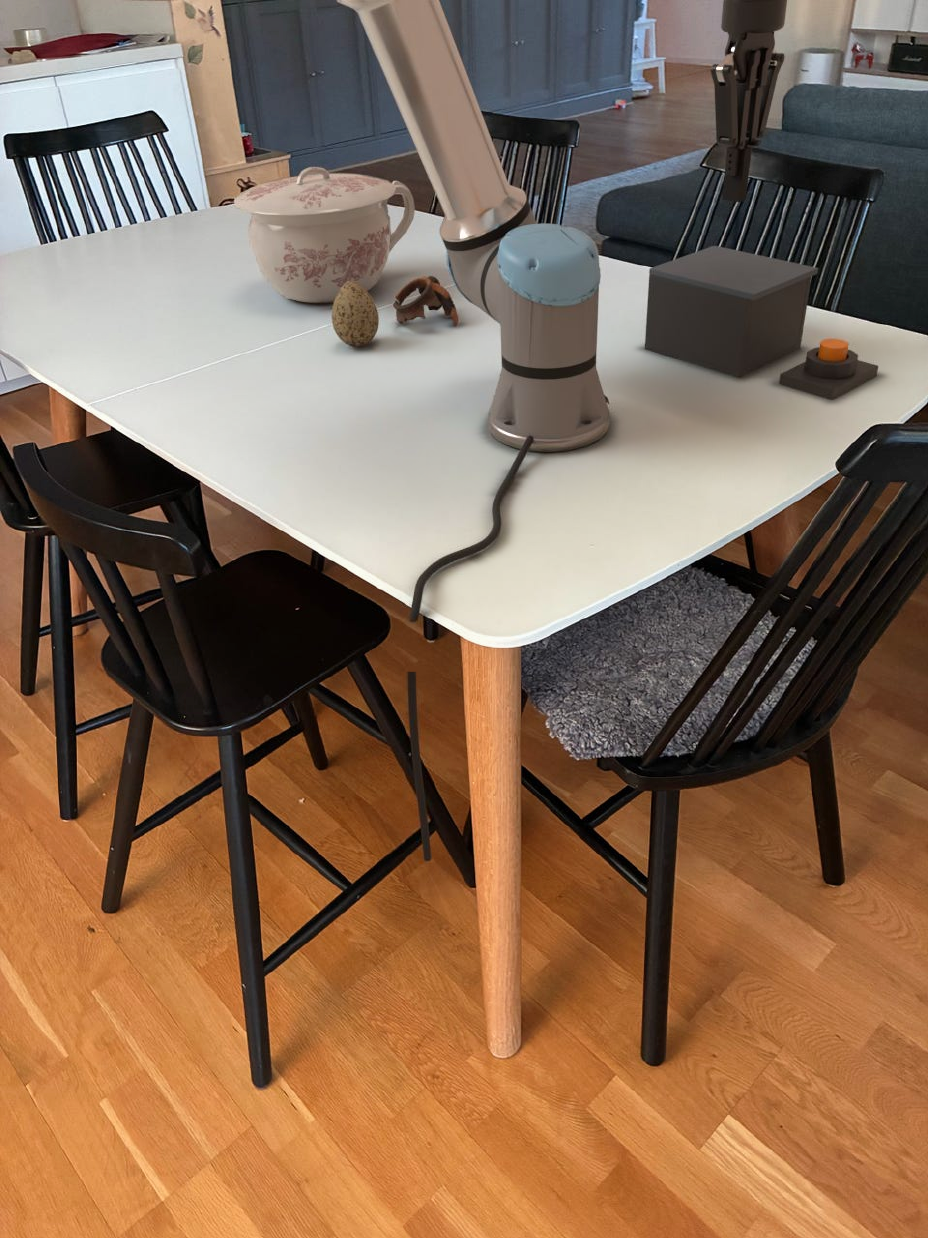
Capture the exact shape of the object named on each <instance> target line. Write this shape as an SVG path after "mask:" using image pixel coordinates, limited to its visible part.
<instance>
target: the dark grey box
mask: <svg viewBox="0 0 928 1238" xmlns="http://www.w3.org/2000/svg"><path fill="white" fill-rule="evenodd" d="M812 277H813V276H811V277H808V278H806V279H803V280H801V281H799V282H796V283H794V284H791V285H789V286H787V287H784V288H782V289H779V290H777V291H775V292H772V293H770V294H767V295H765V296H763V297H760V298H758V299H755V300H750V299H746V298H742V297H739V296H735V295H731V294H727V293H723V292H719V291H715V290H711V289H707V288H703V287H699V286H695V285H691V284H687V283H683V282H679V281H675V280H671V279H667V278H663V277H659V276H655V275H651V274H648V287H647V288H648V289H647V303H646V304H647V306H646V320H645V323H646V324H645V337H644V350H647V351H650V352H653V353H657V354H659V355H663V356H665V357H669V358H672V359H676V360H679V361H683V362H686V363H688V364H693V365H696V366H699V367H702V368H705V369H708V370H712V371H715V372H718V373H721V374H724V375H728V376H730V377H733V378H737V379H740V378H742V377H744V376H747V375H748V374H750V373H753V372H754V371H757V370H759V369H761V368H763V367H765V366H766V365H769V364H772V363H773V362H776V361H778V360H780V359H781V358H783V357H786V356H789V355H790V354H792V353H794V352H796V351H798V350H800V349H801V345H802V340H803V333H804V327H805V321H806V315H807V308H808V302H809V295H810V289H811V283H812Z"/></svg>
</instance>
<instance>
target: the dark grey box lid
mask: <svg viewBox="0 0 928 1238" xmlns="http://www.w3.org/2000/svg"><path fill="white" fill-rule="evenodd" d="M648 270H649V271H648V275H650V274H651V275H655V276H659V277H663V278H667V279H671V280H675V281H679V282H683V283H687V284H691V285H695V286H699V287H703V288H707V289H711V290H715V291H719V292H723V293H727V294H731V295H735V296H739V297H742V298H746V299H750V300H755V299H758V298H760V297H763V296H765V295H767V294H770V293H772V292H775V291H777V290H779V289H782V288H784V287H787V286H789V285H791V284H794V283H796V282H799V281H801V280H803V279H806V278H808V277H811V276H812V277H813V276H815V275H818V273H819V267H815V266H811V265H807V264H801V263H797V262H792V261H786V260H783V259H778V258H775V257H768V256H764V255H760V254H756V253H750V252H746V251H741V250H737V249H732V248H727V247H722V246H719V245H711V246H709V247H706V248H704V249H701V250H698V251H695V252H692V253H689V254H687V255H684V256H681V257H678V258H675V259H673V260H669V261H667V262H664V263H661V264H659V265H656V266H653V267H650V268H649V269H648Z"/></svg>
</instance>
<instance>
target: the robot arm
mask: <svg viewBox="0 0 928 1238" xmlns="http://www.w3.org/2000/svg"><path fill="white" fill-rule="evenodd" d="M336 2H337V3H339V4H341V5H343V6H346V7H348V8H350V9H353V10H354V12H356V13H357V16H358V18H359V20H360V23H361V24H362V26H363V29H364V31H365V34H366V36H367V38H368V40H369V43H370V45H371V48H372V50H373V52H374V55H375V57H376V59H377V61H378V63H379V66H380V68H381V70H382V73H383V75H384V77H385V80H386V82H387V84H388V87H389V89H390V92H391V93H392V96H393V98H394V101H395V103H396V106H397V108H398V110H399V113H400V114H401V117H402V120H403V121H404V123H405V126H406V128H407V131H408V133H409V135H410V137H411V140H412V142H413V145H414V147H415V149H416V151H417V154H418V156H419V158H420V160H421V163H422V165H423V167H424V170H425V171H426V174H427V177H428V179H429V182H430V184H431V186H432V189H433V191H434V194H435V196H436V198H437V200H438V202H439V205H440V207H441V209H442V211H443V215H444V216H443V220H442V221H441V224H440V227H439V231H438V232H439V236H440V238H441V240H442V243H443V244H444V248H445V249H446V255H445V256H446V266H447V271H448V273H449V277H450V278H451V280H452V283H453V284H454V286H455V288H456V289H457V290H458V292H459V293H460V294H461V296H462V297H463V298H464V299H466V300H467V301H468V302H469V303H470V304H472V305H473V306H476V308H478V309H480V310H481V311H482V312H484V313H485V314H486V315H488V316H489V317H490V318H491V319H493V320H494V321H495V322H497V323H498V324H499V328H500V346H501V347H500V353H501V370H500V373H499V376H498V381H497V384H496V387H495V390H494V394H493V397H492V401H491V404H490V407H489V411H488V430H489V432H490V434H491V435H492V437H493V438H495V439H496V440H497V441H499V442H500V443H502V444H505V445H506V446H509V447H512V448H514V449H518V450H519V452H518V454H517V455H516V458H515V459H514V462H513V463H512V465H511V467H510V469H509V471H508V473H507V474H506V476H505V478H504V479H503V481H502V483H501V484H500V486H499V488H498V490H497V492H496V494H495V496H494V499H493V502H492V507H491V508H492V509H491V512H492V513H491V514H492V521H493V526H492V529H491V531H490V532H489V534H488V535H487V536H486V537H485V538H484V539H482V540H481V541H479V542H477V543H474V544H472V545H470V546H467V547H465V548H462V549H459V550H457V551H454V552H450V553H448V554H447V555H444V556H442V557H440V558H438V559H437V560H436V561H434V562H432V564H430V565H429V566H428V567H427V568H426V569H425V570H424V571H423V572H421V574H420V575H419V577H418V578H417V580H416V583H415V587H414V590H413V596H412V602H411V607H410V612H409V618H408V620H409V622H411V623H416V622H417V621H419V615H420V610H421V606H422V600H423V594H424V589H425V587H426V584H427V582H428V581H429V579H431V577H433V575H434V574H435V573H437V571H438V570H440V569H442V568H443V567H445V566H447V565H450V564H451V563H454V562H456V561H459V560H461V559H464V558H466V557H470V556H472V555H475V554H477V553H479V552H481V551H483V550H485V549H486V548H488V547H489V546H490V545H492V544H493V543H494V542H495V541H496V539H497V538H498V537H499V536H500V533H501V530H502V517H501V505H502V502H503V500H504V497H505V495H506V493H507V491H508V489H509V487H510V486H511V484H512V483H513V481H514V479H515V477H516V475H517V473H518V472H519V469H520V468H521V466H522V464H523V461H524V459H525V458H526V455H527V454H528V452H529V451H531V452H547V453H549V452H563V451H569V450H574V449H575V450H576V449H580V448H582V447H586V446H589V445H590V444H593V443H595V442H598V440H600V439H601V438H603V437H604V436H605V435H606V433H607V432H608V430H609V426H610V425H609V424H610V409H609V406H610V405H611V404H610V400H609V397H608V396H607V395H606V394H605V393H604V389H603V386H602V383H601V379H600V375H599V373H598V369H597V351H598V346H597V345H598V327H599V326H598V325H599V324H598V323H599V298H600V297H599V295H600V283H601V278H602V277H601V276H602V275H601V267H600V254H599V248H598V246H597V244H596V242H595V240H594V239H593V238H592V237H591V236H590V235H589V234H587V233H585V232H584V231H582V230H580V229H577V228H576V227H575V228H574V227H572V226H562V225H561V224H559V223H558V224H557V223H537V221H536V218H535V215H534V213H533V210H532V208H531V205H530V202H529V199H528V197H527V194H526V193H525V190H524V189H522V188H519V187H517V186H514V185H511V184H510V183H509V181H508V179H507V177H506V174H505V171H504V169H503V166H502V163H501V160H500V158H499V156H498V153H497V150H496V147H495V144H494V142H493V139H492V137H491V134H490V132H489V131H490V130H489V128H488V126H487V123H486V121H485V118H484V116H483V113H482V110H481V107H480V105H479V102H478V100H477V97H476V94H475V92H474V88H473V87H472V84H471V81H470V79H469V76H468V74H467V71H466V68H465V66H464V63H463V59H462V58H461V55H460V52H459V49H458V46H457V44H456V41H455V39H454V36H453V34H452V31H451V28H450V26H449V23H448V20H447V18H446V15H445V12H444V10H443V7H442V5H441V2H440V0H336ZM787 6H788V0H723V2H722V11H721V12H722V13H721V24H720V25H721V26H720V27H721V30H722V32H724V33H727V35H728V38H727V42H726V45H725V47H724V48H725V49H724V58H723V59H722V61H721V62H720V63H713V64H712V66H711V68H710V74H711V78H712V82H713V84H714V86H713V87H714V109H715V110H714V111H715V140H716V145H719V147H720V148H725V149H726V154H725V164H724V166H725V167H724V180H723V191H722V200H723V201H729V202H735V203H741V202H744V201H747V194H748V184H749V177H750V168H751V161H752V152H753V147H760V145H761V143H762V140H761V139H762V138H763V137H765V132H766V128H767V124H768V121H769V120H768V119H769V116H770V111H771V107H772V104H773V98H774V96H775V95H774V94H775V90H776V85H777V81H778V77H779V75H780V71H781V69H782V66H783V63H784V61H785V59H786V57H785V56H786V55H785V53H782V52H777V51H776V50H775V47H776V39H775V32H778V31H780V30H783V28H784V26H785V22H786V14H787ZM608 405H609V406H608ZM407 709H408V727H409V741H410V750H411V761H412V770H413V778H414V786H415V787H414V788H415V793H416V801H417V810H418V817H419V825H420V826H419V827H420V833H421V844H422V853H423V861H424V862H430V861H431V860H432V850H431V839H430V837H431V836H430V828H429V819H428V810H427V803H426V794H425V787H424V778H423V777H424V776H423V770H422V760H421V752H420V751H421V750H420V737H419V722H418V721H419V720H418V699H417V671H407Z"/></svg>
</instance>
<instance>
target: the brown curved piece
mask: <svg viewBox="0 0 928 1238" xmlns="http://www.w3.org/2000/svg"><path fill="white" fill-rule="evenodd" d="M417 290H418V294H419V296H418V297H416V298H415V299H414V300H412V301H410V302H409V303H407V304H403V303H404V301H406V299H407V298H408V297H409V296H410V295H412V294H413V293H414V292H416V291H417ZM454 303H455V302H454V300H453V298H452V296H451V294H450V293H449V291H448V290H447V289H446V288H445V287H444V286H443V285H441V283H440V281H439V279H438V278H437V277H436V276H433V275H429V276H421V277H417V278H414V279H413V280H411V281H409V282H407V284H405V285H404V286H403V287H402V288H401V289H400V290H399V291H398V292H397V294H396V295H395V300H394V302H393V303H392V307H393V308H394V309H395V311H396V312H395V317H396V321H397V322H398V323H399V324H400V325H403V324H404V323H407V322H408V321H413V320H415V319H417V318H421V319H423V320H426V316H425V306H426V307H427V309H428V310H429V311H439V310H440V309H441V308H442V309H443V312H444V316H445V317H450V318H451V320H452V322H453V326H454V327H457V326H458V324H459V321H460V318H459V315H458V311H457V307H456V305H455V304H454Z"/></svg>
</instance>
